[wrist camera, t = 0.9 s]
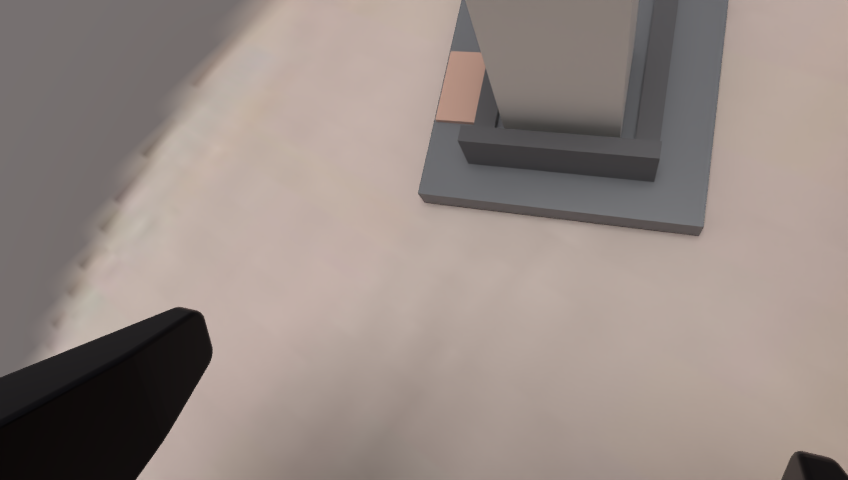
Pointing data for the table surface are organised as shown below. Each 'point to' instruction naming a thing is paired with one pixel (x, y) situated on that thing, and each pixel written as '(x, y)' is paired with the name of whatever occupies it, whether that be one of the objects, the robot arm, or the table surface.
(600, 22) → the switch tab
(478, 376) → the table surface
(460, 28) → the switch board
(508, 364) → the table surface
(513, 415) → the table surface
